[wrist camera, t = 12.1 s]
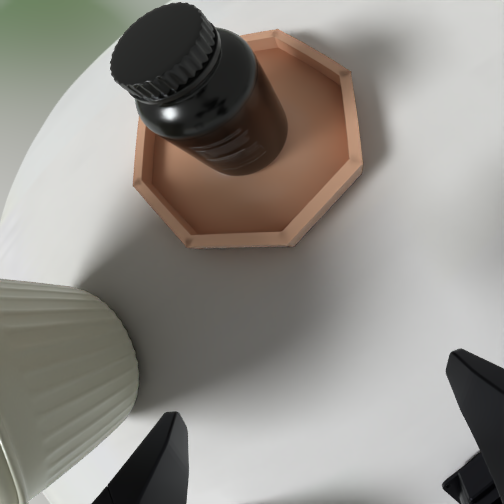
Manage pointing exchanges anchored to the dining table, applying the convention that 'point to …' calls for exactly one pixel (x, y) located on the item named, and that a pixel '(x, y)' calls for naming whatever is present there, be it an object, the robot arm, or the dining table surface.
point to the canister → (57, 382)
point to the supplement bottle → (201, 89)
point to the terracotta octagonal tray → (276, 173)
